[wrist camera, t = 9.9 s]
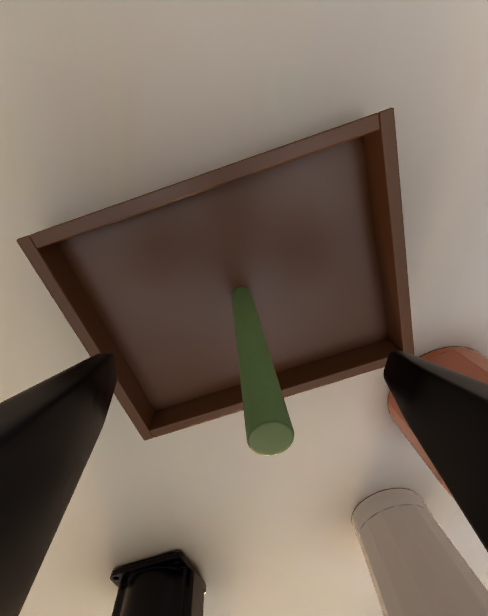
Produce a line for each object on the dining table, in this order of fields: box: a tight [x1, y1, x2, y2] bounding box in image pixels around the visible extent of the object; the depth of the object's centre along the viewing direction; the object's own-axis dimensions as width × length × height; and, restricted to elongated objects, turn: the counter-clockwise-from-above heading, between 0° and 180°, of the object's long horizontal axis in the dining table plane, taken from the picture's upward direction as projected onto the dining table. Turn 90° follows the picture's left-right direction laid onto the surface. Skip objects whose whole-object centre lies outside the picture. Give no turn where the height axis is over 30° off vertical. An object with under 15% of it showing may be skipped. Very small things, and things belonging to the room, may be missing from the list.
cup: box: [352, 488, 488, 616], centre depth 19 cm, size 8×8×12 cm
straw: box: [231, 287, 294, 456], centre depth 11 cm, size 1×1×10 cm
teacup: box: [388, 347, 488, 497], centre depth 17 cm, size 7×7×5 cm
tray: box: [17, 108, 414, 440], centre depth 15 cm, size 16×12×2 cm
